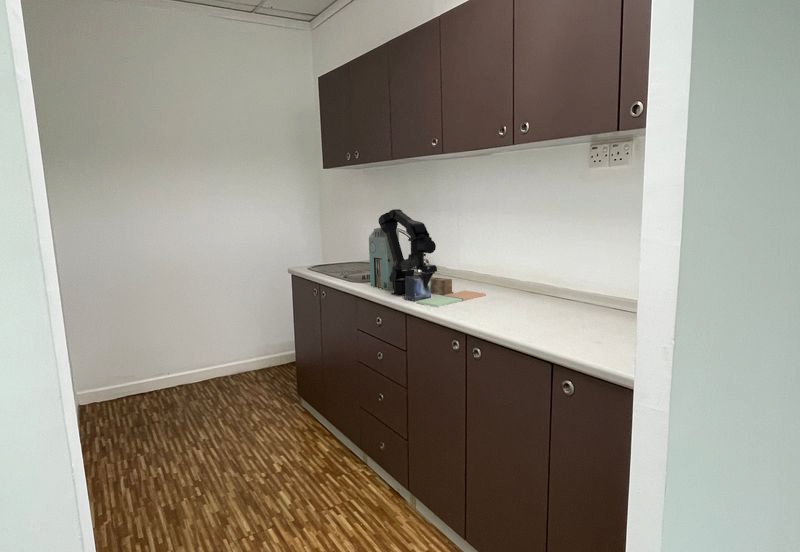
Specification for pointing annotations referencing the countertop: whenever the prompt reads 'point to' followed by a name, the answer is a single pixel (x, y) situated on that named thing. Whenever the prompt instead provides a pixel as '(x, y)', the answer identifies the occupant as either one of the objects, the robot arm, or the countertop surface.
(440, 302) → the green and salmon panel
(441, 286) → the brown wooden block
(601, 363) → the countertop surface
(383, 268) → the device
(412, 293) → the small box
